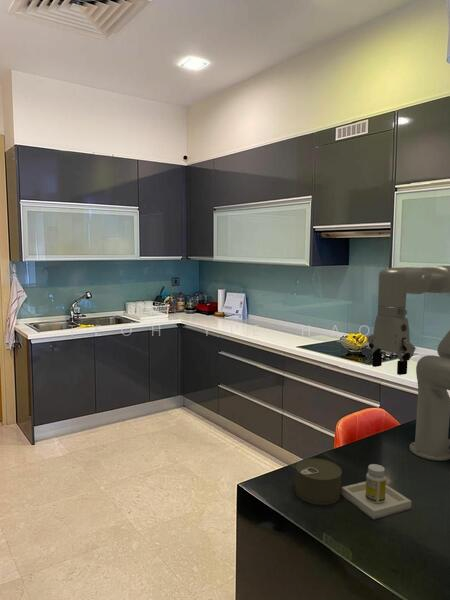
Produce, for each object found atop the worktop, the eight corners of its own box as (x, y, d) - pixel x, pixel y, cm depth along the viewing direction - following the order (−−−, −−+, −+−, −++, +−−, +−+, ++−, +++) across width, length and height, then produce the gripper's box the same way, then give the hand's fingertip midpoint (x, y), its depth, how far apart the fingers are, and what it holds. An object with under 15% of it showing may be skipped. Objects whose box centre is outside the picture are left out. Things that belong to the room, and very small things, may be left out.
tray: (376, 486, 122) (376, 478, 122) (410, 508, 111) (411, 500, 111) (341, 494, 117) (341, 487, 117) (373, 519, 106) (374, 511, 106)
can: (350, 498, 116) (351, 473, 115) (314, 510, 110) (315, 483, 109) (320, 478, 126) (321, 454, 125) (285, 487, 120) (286, 463, 120)
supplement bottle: (382, 494, 116) (383, 463, 116) (387, 504, 112) (388, 472, 111) (363, 493, 117) (365, 462, 116) (367, 503, 112) (369, 471, 111)
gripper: (425, 315, 122) (422, 376, 124) (379, 308, 138) (377, 362, 139) (405, 316, 119) (402, 379, 121) (360, 309, 134) (358, 364, 136)
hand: (388, 370), depth 130 cm, fingers open, 9 cm apart
